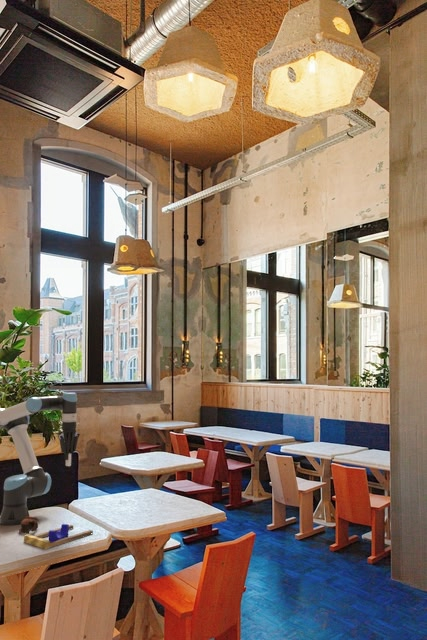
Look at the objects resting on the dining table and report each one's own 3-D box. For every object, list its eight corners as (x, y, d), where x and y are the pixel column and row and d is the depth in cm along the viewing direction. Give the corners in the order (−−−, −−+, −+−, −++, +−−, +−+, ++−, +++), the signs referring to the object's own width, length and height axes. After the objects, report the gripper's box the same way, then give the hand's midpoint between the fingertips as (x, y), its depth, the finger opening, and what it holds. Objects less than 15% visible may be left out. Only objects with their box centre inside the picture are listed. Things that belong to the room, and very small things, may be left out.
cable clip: (60, 536, 249) (60, 523, 249) (68, 537, 247) (68, 524, 248) (45, 544, 237) (46, 530, 238) (54, 545, 236) (54, 531, 237)
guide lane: (23, 541, 240) (24, 535, 240) (70, 527, 262) (70, 521, 262) (45, 549, 230) (46, 542, 230) (92, 533, 252) (92, 527, 252)
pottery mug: (13, 534, 254) (17, 516, 259) (28, 538, 260) (32, 521, 265) (28, 531, 248) (33, 513, 253) (44, 535, 254) (48, 518, 259)
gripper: (63, 422, 269) (62, 468, 267) (83, 420, 280) (82, 464, 277) (54, 421, 274) (53, 466, 271) (74, 420, 284) (73, 463, 282)
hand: (68, 465), depth 274 cm, fingers closed
